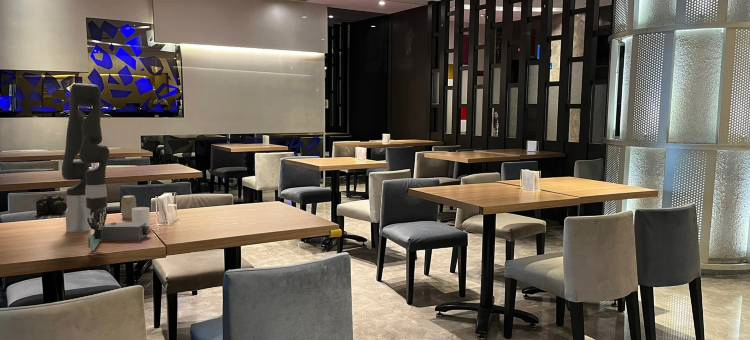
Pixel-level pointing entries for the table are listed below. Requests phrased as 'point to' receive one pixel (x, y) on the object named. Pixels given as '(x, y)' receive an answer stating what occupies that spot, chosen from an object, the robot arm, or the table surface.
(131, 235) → the camera housing
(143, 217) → the white cup
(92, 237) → the side door
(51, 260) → the table surface
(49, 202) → the film camera
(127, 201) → the carving
